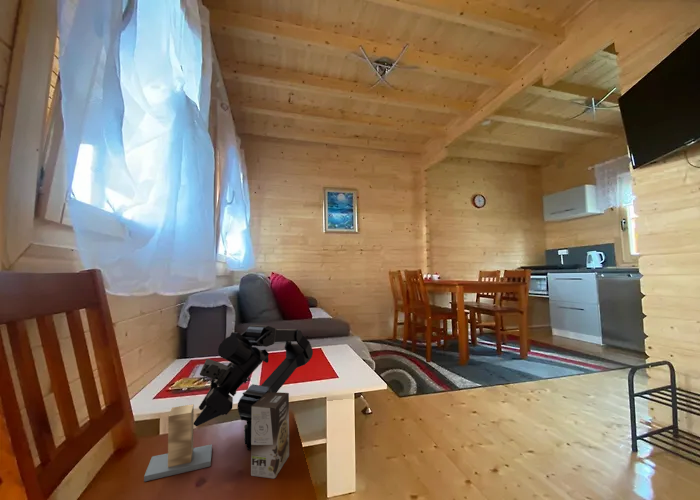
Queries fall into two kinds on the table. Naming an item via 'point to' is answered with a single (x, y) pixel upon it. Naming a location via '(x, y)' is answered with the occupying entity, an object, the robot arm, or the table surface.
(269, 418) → the coffee box
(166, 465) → the slate board
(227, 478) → the table surface
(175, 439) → the block
